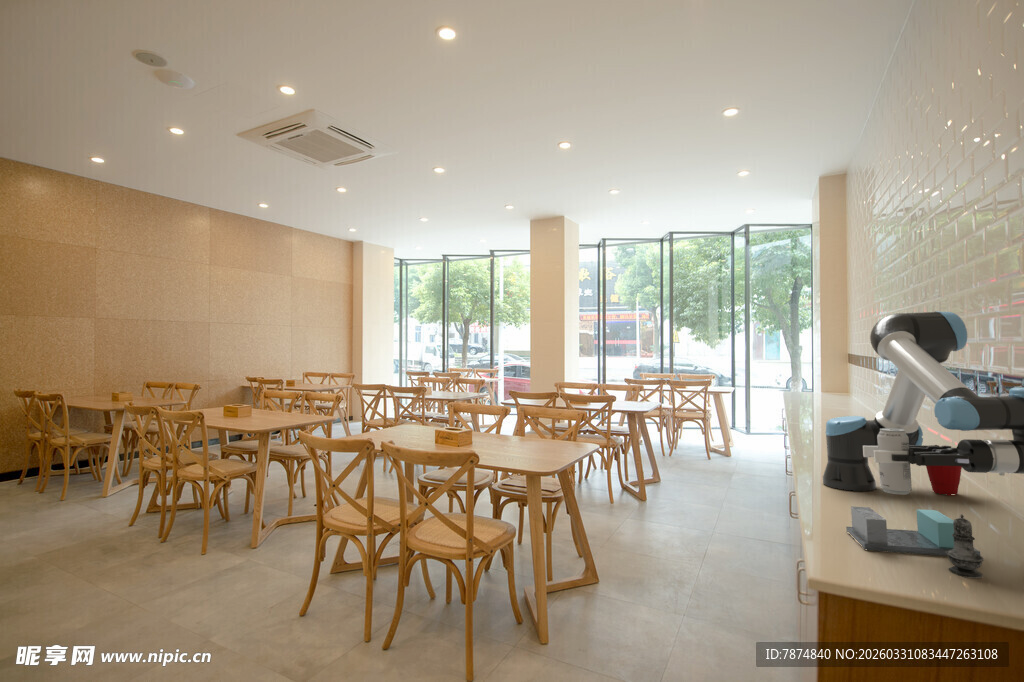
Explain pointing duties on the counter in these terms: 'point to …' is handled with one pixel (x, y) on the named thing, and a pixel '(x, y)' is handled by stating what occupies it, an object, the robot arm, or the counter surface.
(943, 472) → the plastic cup
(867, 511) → the grey base stand
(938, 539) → the sliding jaw
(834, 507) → the counter surface
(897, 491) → the energy drink can
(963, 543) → the salt shaker
